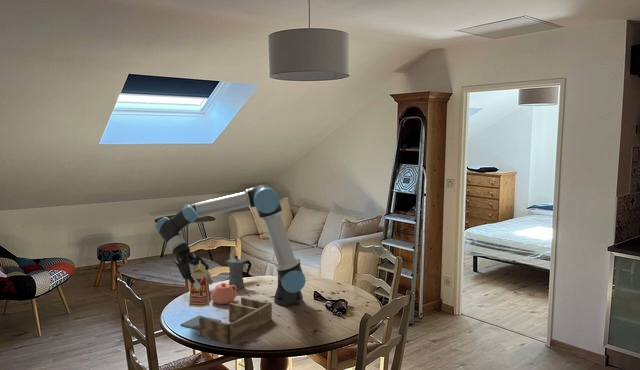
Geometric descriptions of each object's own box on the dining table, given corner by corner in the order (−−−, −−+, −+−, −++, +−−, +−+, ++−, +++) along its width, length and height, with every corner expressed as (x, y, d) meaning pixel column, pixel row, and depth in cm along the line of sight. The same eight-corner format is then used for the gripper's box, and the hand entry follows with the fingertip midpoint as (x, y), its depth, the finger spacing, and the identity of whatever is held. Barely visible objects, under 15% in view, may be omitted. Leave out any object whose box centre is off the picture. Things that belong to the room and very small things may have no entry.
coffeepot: (222, 288, 295) (222, 257, 293) (227, 283, 304) (227, 253, 302) (249, 290, 293) (249, 258, 291) (253, 285, 302) (253, 254, 300)
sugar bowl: (208, 300, 275) (208, 281, 274) (233, 296, 282) (233, 278, 281) (215, 307, 265) (215, 288, 263) (242, 303, 272) (242, 284, 270)
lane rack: (199, 336, 230) (199, 318, 229) (242, 312, 258) (242, 297, 257) (230, 344, 222) (230, 326, 221) (271, 319, 251) (271, 303, 250)
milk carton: (192, 299, 247) (190, 258, 244) (212, 299, 247) (210, 258, 244) (188, 307, 238) (186, 265, 235) (208, 307, 238) (207, 264, 235)
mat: (180, 325, 241) (180, 324, 241) (199, 316, 252) (199, 315, 252) (202, 331, 235) (202, 329, 235) (221, 321, 246) (221, 320, 246)
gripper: (189, 247, 256) (215, 284, 251) (157, 256, 237) (185, 297, 232) (198, 237, 253) (225, 275, 248) (166, 246, 234) (194, 287, 229)
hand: (205, 285), depth 240 cm, fingers closed on milk carton, 9 cm apart
